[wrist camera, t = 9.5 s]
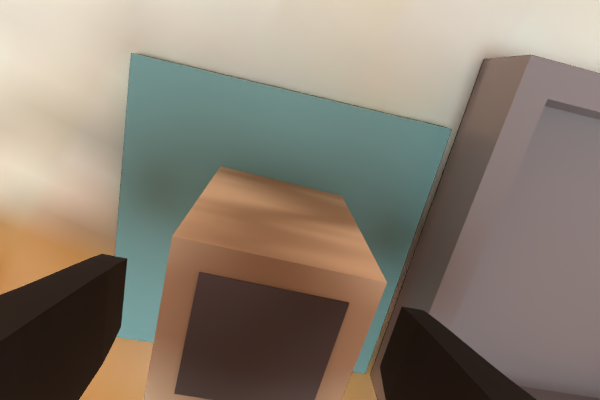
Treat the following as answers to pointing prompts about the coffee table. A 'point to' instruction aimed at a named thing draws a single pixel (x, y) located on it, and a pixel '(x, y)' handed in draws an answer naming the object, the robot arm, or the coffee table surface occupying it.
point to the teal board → (260, 169)
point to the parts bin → (519, 230)
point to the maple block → (263, 295)
